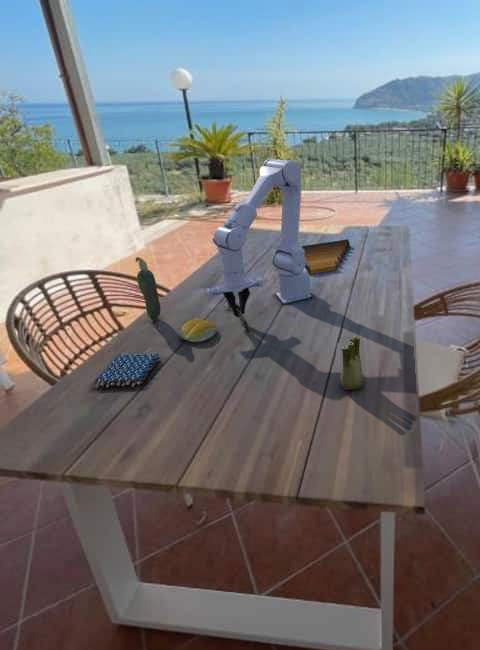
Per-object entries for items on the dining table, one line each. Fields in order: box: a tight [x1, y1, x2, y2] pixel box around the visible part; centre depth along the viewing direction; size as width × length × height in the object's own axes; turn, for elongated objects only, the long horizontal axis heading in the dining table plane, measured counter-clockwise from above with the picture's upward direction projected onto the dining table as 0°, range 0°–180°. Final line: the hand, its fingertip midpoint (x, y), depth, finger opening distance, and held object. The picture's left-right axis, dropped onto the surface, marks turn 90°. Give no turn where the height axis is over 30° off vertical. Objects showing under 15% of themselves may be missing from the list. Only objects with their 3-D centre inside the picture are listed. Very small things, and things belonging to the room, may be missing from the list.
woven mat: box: [93, 352, 161, 389], centre depth 91 cm, size 10×11×2 cm
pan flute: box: [300, 238, 351, 275], centre depth 158 cm, size 25×3×25 cm
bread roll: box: [180, 318, 217, 343], centre depth 105 cm, size 8×9×4 cm
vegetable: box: [135, 256, 161, 322], centre depth 109 cm, size 4×4×20 cm
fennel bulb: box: [339, 335, 364, 391], centre depth 85 cm, size 6×5×12 cm
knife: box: [226, 300, 251, 335], centre depth 110 cm, size 23×2×5 cm, turn 30°
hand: (238, 313), depth 110 cm, fingers closed on knife, 1 cm apart
